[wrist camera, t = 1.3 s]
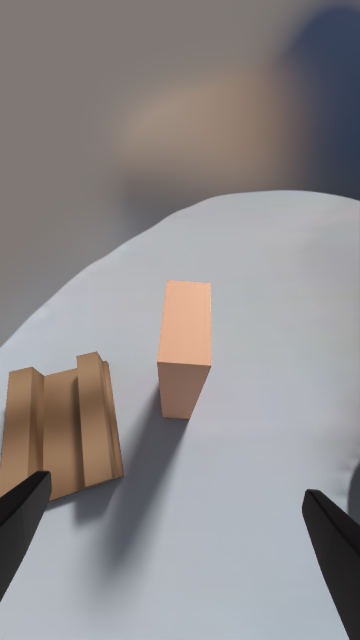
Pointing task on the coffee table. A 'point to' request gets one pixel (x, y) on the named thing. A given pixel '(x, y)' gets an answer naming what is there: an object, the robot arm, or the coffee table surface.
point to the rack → (61, 428)
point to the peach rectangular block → (184, 347)
